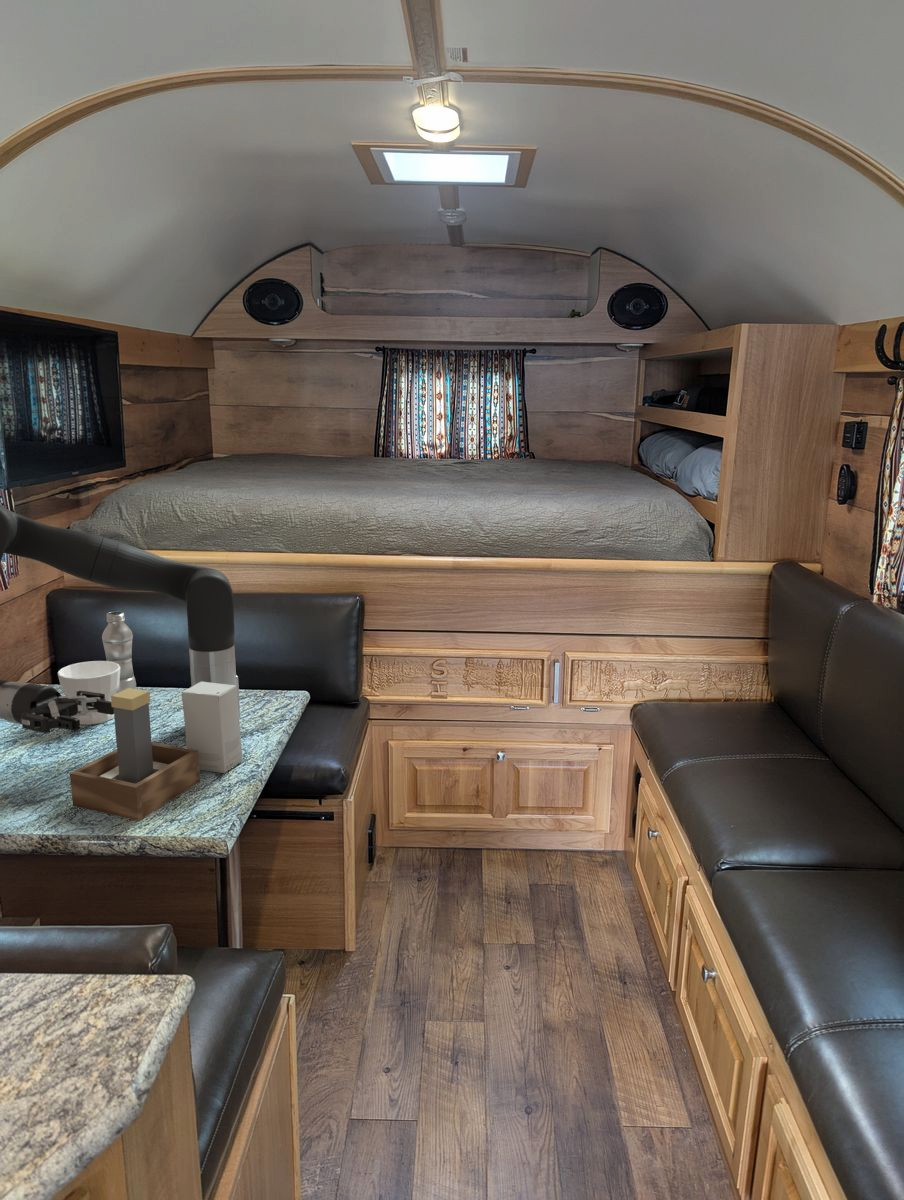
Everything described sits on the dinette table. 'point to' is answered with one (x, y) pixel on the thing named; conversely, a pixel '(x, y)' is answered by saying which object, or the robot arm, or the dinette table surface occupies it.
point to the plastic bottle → (119, 648)
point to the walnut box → (109, 795)
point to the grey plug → (133, 734)
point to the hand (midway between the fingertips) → (97, 716)
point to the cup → (91, 684)
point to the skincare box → (213, 725)
